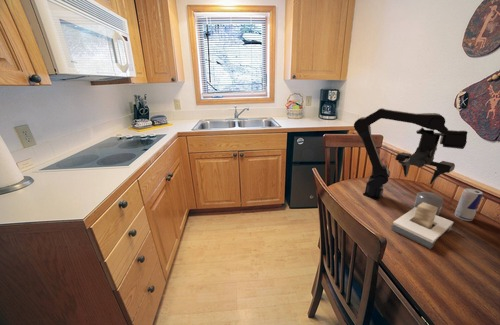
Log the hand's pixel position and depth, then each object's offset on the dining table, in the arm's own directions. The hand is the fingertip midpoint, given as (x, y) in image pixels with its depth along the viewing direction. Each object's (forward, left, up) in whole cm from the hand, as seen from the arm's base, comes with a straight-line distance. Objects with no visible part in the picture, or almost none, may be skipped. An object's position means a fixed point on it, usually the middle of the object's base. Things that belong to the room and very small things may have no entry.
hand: (417, 180), depth 90 cm
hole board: (+10, -17, -12) cm, 23 cm away
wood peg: (+10, -17, -12) cm, 23 cm away
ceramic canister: (+6, -1, -12) cm, 13 cm away
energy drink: (+16, +6, -12) cm, 21 cm away
